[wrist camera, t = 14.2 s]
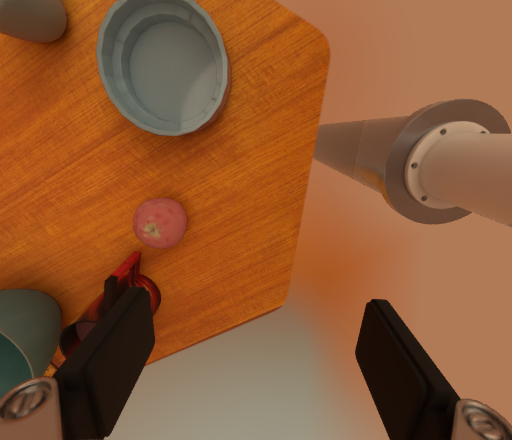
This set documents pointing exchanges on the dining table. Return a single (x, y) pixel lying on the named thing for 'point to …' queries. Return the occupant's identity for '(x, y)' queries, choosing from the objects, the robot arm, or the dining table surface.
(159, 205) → the apple
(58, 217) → the dining table surface
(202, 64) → the bowl
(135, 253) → the mug
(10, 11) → the cup
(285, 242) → the dining table surface
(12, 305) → the deep teal bowl
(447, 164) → the robot arm
